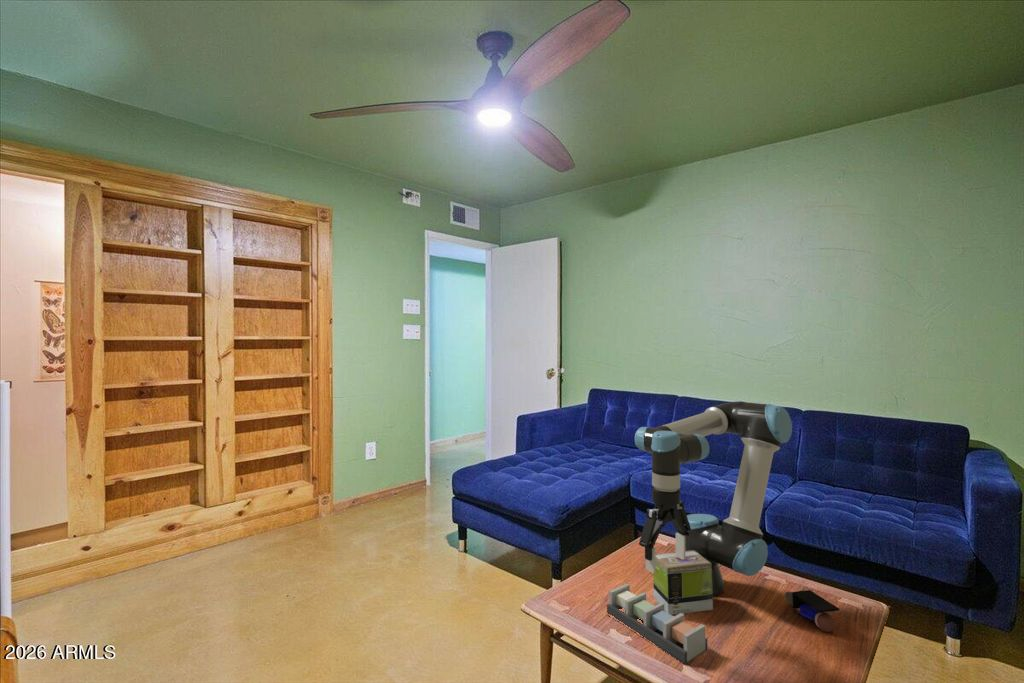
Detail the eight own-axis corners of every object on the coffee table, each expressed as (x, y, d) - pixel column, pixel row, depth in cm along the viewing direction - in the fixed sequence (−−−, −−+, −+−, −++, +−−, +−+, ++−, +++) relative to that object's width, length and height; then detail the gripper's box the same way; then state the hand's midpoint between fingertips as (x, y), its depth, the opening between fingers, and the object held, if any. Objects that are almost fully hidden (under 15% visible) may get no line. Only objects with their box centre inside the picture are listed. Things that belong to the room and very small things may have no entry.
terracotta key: (682, 631, 130) (682, 621, 130) (697, 640, 126) (697, 629, 126) (671, 637, 127) (671, 626, 127) (686, 646, 123) (686, 635, 123)
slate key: (662, 619, 135) (662, 609, 135) (675, 627, 131) (675, 617, 131) (651, 625, 132) (651, 615, 132) (665, 633, 129) (665, 623, 129)
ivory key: (626, 599, 146) (626, 590, 146) (638, 605, 142) (638, 596, 142) (616, 603, 143) (616, 594, 143) (628, 610, 139) (628, 601, 139)
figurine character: (784, 612, 147) (821, 636, 132) (782, 586, 148) (819, 607, 133) (803, 610, 148) (843, 634, 133) (801, 585, 148) (840, 605, 134)
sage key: (643, 609, 140) (643, 599, 140) (656, 616, 137) (656, 606, 137) (633, 614, 138) (633, 604, 138) (645, 621, 134) (645, 611, 134)
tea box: (695, 594, 154) (695, 549, 154) (713, 611, 144) (713, 563, 144) (652, 598, 152) (652, 552, 152) (668, 616, 142) (667, 567, 142)
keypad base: (629, 604, 148) (629, 582, 148) (707, 650, 126) (707, 624, 126) (606, 614, 143) (606, 592, 143) (684, 664, 121) (684, 638, 121)
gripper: (680, 476, 142) (680, 547, 142) (625, 492, 127) (625, 571, 127) (703, 482, 136) (703, 556, 136) (648, 500, 121) (648, 583, 121)
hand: (666, 564), depth 131 cm, fingers open, 13 cm apart
